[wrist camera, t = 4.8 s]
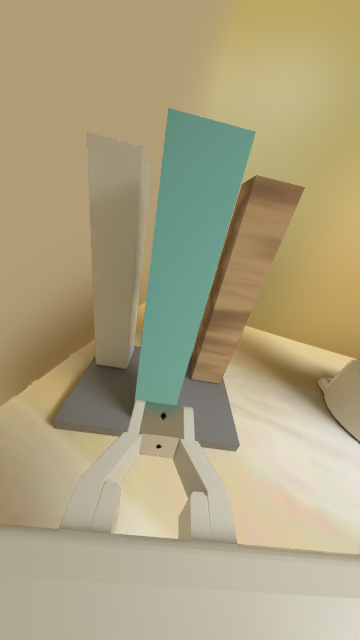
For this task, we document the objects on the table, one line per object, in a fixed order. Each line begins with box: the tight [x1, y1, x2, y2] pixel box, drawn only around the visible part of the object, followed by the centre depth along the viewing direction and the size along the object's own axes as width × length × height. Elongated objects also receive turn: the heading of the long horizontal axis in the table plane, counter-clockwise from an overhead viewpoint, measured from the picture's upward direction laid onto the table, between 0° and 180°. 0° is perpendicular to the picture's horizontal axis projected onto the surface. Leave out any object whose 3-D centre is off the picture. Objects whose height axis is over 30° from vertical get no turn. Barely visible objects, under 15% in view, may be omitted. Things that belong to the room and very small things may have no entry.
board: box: [53, 346, 240, 451], centre depth 30 cm, size 16×23×2 cm
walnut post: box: [191, 175, 304, 384], centre depth 27 cm, size 5×5×28 cm
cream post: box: [87, 132, 151, 369], centre depth 25 cm, size 5×5×28 cm
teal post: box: [134, 108, 256, 405], centre depth 19 cm, size 5×5×28 cm
